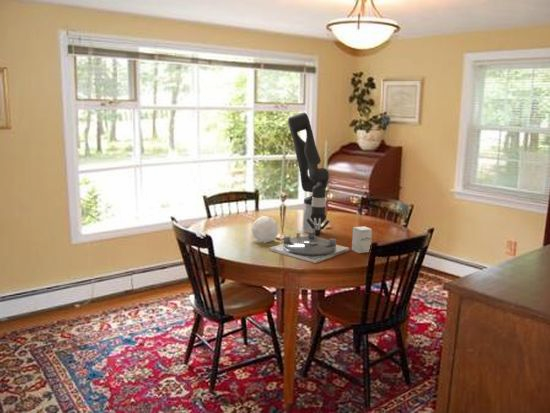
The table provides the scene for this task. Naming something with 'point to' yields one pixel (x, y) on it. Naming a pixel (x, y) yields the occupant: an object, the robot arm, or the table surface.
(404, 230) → the table surface
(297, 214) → the table surface
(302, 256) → the base plate
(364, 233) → the supplement box
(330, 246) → the grey flat round piece
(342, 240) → the table surface
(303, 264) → the table surface
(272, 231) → the white ball
